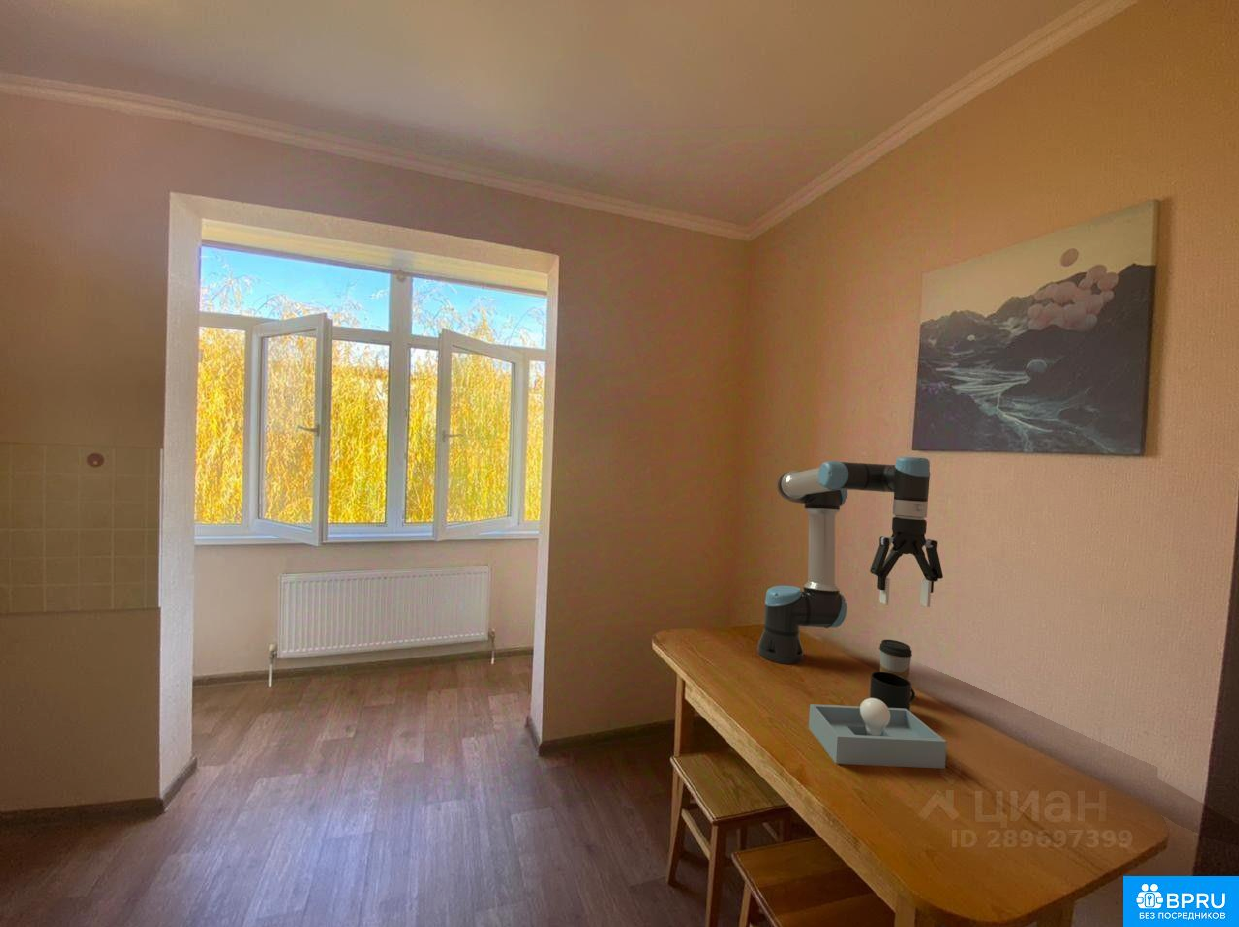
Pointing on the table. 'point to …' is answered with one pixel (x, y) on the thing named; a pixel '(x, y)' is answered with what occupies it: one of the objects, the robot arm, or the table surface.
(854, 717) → the socket box
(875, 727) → the lightbulb
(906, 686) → the mug
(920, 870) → the table surface
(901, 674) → the coffee cup
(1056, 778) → the table surface
